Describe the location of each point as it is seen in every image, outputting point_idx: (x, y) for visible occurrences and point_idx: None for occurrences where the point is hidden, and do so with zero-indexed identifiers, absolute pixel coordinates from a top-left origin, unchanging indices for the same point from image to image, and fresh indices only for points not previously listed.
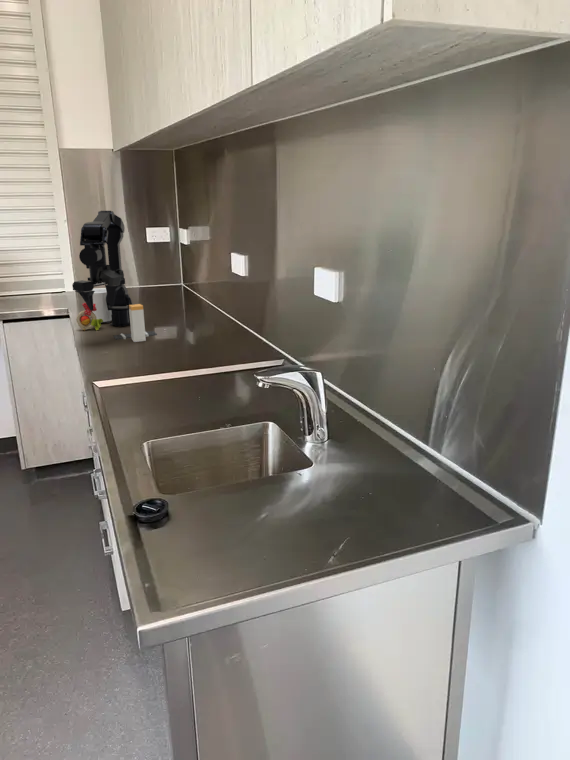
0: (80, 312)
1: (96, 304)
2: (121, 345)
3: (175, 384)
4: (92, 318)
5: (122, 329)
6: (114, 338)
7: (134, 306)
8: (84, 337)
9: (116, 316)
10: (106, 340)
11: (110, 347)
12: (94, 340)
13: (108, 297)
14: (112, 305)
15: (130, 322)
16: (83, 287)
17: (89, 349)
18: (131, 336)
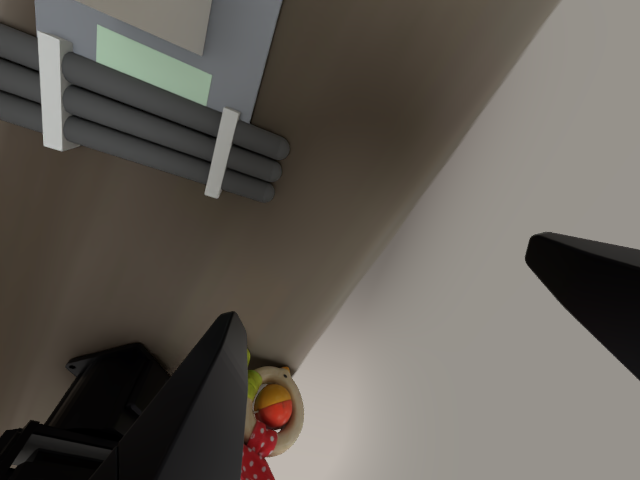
0: (289, 445)
1: None
2: (304, 21)
3: None
4: (251, 403)
5: (148, 315)
6: (286, 146)
7: None
8: (336, 296)
9: (134, 398)
10: (302, 196)
11: (374, 38)
12: (338, 233)
13: (239, 454)
14: (235, 313)
15: (156, 20)
16: None
17: (458, 100)
18: (197, 52)
